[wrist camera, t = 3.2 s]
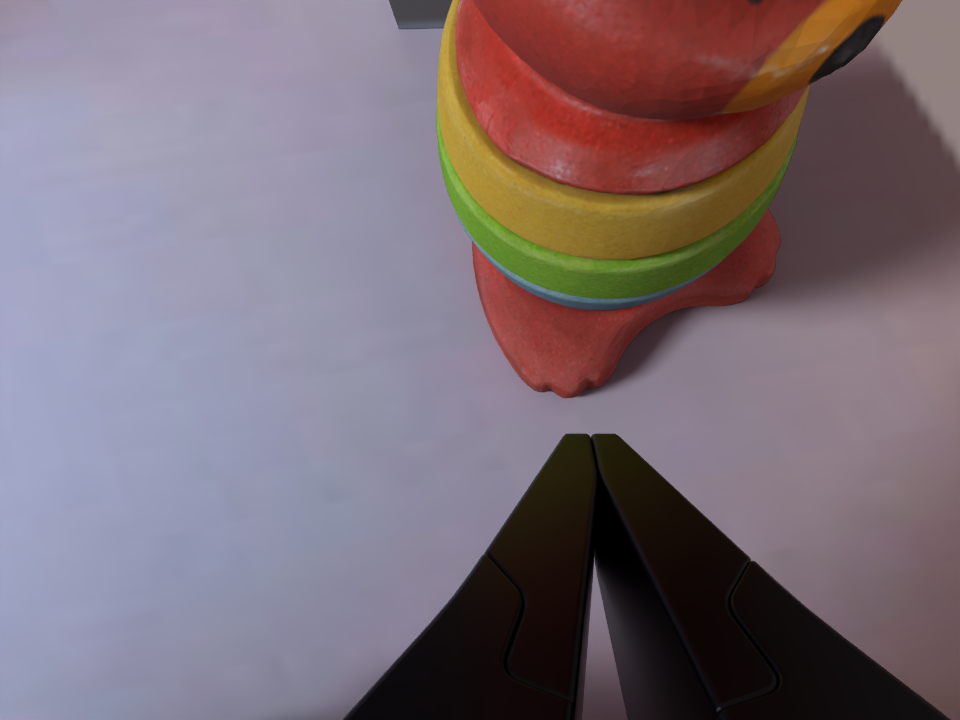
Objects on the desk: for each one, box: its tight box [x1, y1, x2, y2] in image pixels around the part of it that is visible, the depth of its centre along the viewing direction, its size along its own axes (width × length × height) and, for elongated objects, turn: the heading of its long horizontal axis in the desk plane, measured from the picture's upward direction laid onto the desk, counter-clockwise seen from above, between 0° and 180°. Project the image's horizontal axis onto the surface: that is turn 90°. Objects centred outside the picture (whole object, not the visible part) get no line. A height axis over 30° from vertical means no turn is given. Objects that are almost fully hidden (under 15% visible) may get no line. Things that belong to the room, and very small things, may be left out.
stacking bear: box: [436, 0, 902, 398], centre depth 15 cm, size 11×10×18 cm
